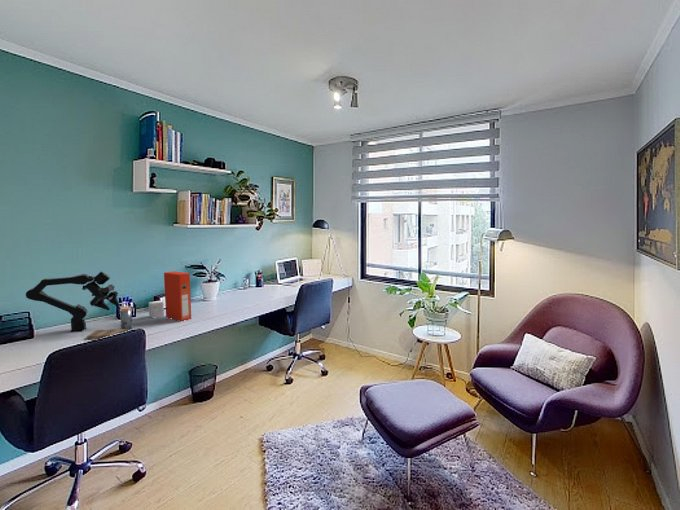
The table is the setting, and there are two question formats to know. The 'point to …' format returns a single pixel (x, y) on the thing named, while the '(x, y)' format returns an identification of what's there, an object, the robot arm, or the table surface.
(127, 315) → the tin
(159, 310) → the small box
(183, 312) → the file binder
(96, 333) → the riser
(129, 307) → the cargo block
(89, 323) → the table surface
